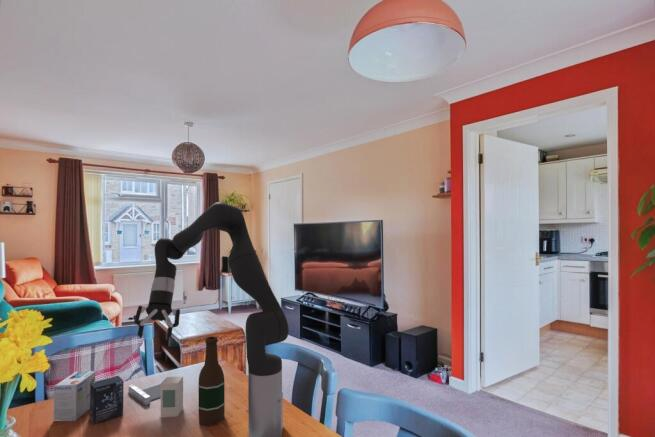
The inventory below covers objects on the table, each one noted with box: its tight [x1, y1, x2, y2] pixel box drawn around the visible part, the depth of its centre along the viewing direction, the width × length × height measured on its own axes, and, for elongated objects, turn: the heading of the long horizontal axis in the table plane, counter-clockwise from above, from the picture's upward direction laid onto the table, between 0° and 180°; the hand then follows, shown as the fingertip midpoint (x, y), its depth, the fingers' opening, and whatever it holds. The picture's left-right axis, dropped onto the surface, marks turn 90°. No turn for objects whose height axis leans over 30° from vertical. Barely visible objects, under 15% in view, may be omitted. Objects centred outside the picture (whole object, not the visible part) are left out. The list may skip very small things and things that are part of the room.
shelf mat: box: [141, 383, 161, 402], centre depth 128 cm, size 12×10×1 cm
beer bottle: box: [198, 336, 226, 427], centre depth 110 cm, size 8×8×24 cm
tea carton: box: [160, 375, 184, 418], centre depth 114 cm, size 5×5×10 cm
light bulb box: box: [53, 370, 96, 422], centre depth 114 cm, size 11×7×11 cm, turn 5°
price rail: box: [128, 384, 151, 407], centre depth 124 cm, size 2×14×2 cm, turn 48°
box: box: [89, 375, 124, 425], centre depth 112 cm, size 8×6×11 cm
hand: (154, 338), depth 127 cm, fingers open, 8 cm apart
